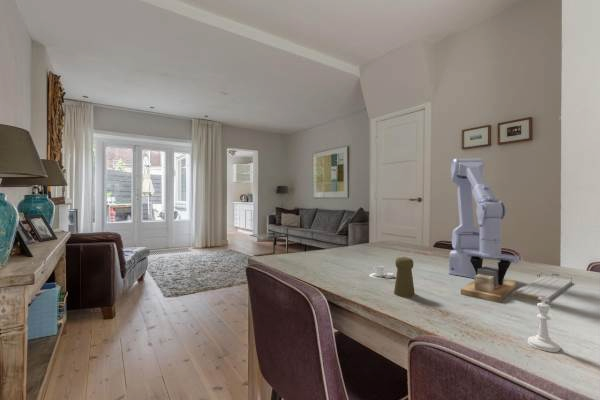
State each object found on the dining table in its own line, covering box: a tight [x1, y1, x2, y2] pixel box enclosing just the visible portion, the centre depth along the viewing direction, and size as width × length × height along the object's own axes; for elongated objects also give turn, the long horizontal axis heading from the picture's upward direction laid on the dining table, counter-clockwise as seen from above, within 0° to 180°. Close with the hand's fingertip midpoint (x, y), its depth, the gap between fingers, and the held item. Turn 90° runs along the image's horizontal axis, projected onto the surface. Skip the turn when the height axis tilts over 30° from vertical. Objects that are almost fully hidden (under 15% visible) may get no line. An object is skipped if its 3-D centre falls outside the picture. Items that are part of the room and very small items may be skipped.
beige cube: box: [474, 274, 494, 292], centre depth 89 cm, size 4×4×4 cm
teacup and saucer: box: [368, 264, 396, 280], centre depth 110 cm, size 9×8×4 cm
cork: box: [393, 256, 416, 298], centre depth 90 cm, size 6×6×11 cm
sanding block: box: [477, 265, 501, 289], centre depth 93 cm, size 5×9×5 cm, turn 134°
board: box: [460, 279, 518, 303], centre depth 93 cm, size 10×22×2 cm, turn 134°
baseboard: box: [510, 272, 573, 303], centre depth 96 cm, size 30×3×10 cm
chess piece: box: [527, 295, 561, 353], centre depth 58 cm, size 5×5×10 cm
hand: (490, 282), depth 93 cm, fingers closed on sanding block, 5 cm apart
